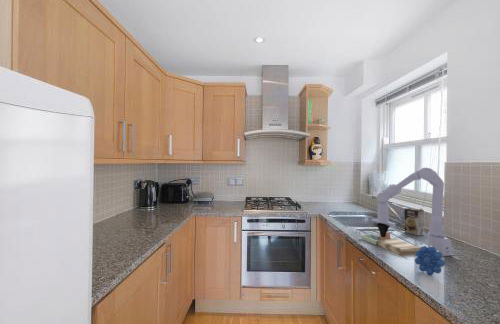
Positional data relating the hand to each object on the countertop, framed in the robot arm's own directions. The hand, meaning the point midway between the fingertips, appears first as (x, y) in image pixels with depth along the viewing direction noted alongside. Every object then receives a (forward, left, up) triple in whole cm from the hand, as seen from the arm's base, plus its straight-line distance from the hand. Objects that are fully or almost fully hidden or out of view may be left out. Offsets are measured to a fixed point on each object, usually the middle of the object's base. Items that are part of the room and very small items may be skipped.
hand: (383, 236), depth 143 cm
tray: (+5, 0, -4) cm, 6 cm away
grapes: (-39, +13, -4) cm, 42 cm away
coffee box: (+14, -37, -4) cm, 40 cm away
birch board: (-10, 0, -4) cm, 11 cm away
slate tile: (+6, -2, -1) cm, 6 cm away
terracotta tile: (+1, -3, -1) cm, 3 cm away
